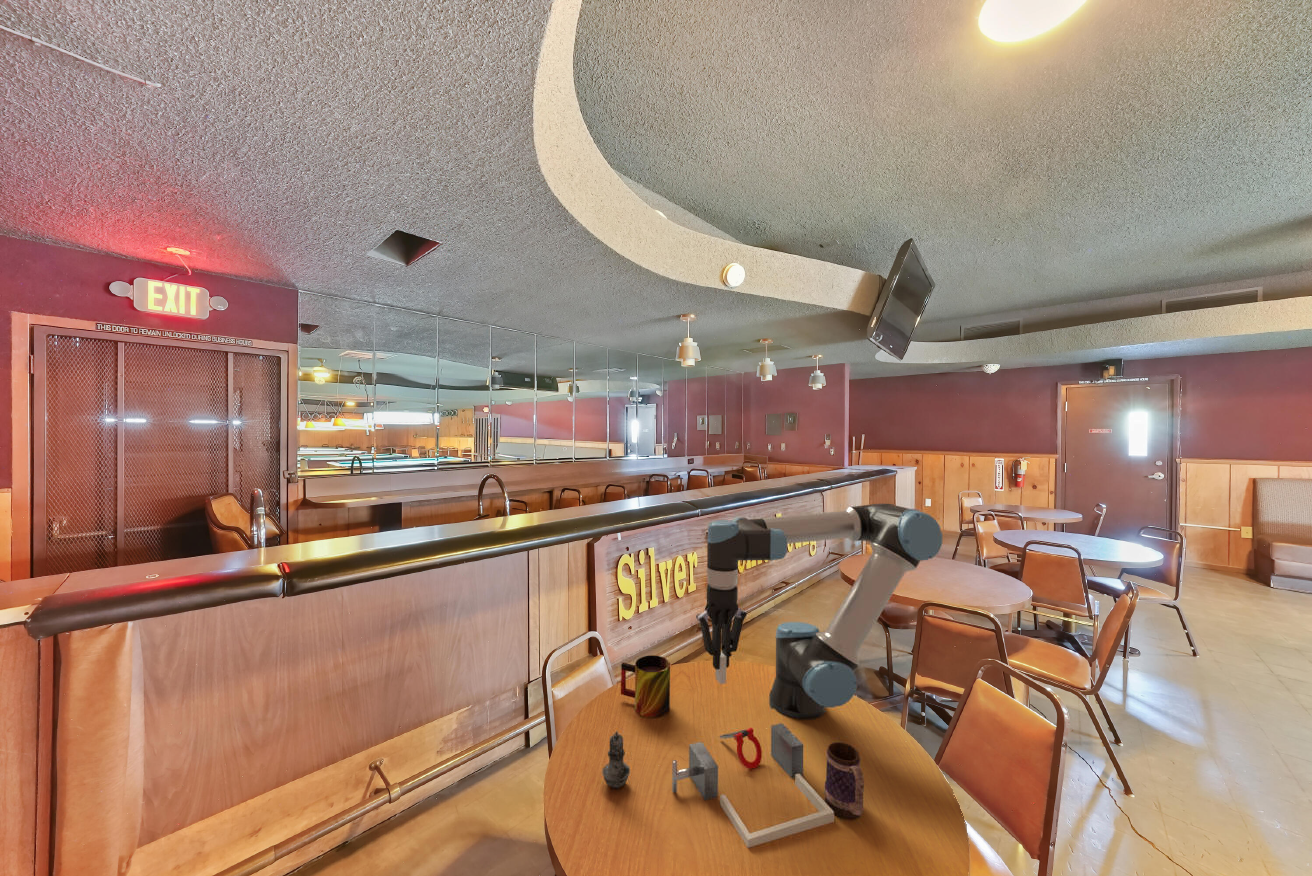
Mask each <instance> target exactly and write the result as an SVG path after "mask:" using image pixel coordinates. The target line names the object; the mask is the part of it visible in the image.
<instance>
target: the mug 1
mask: <svg viewBox="0 0 1312 876" xmlns="http://www.w3.org/2000/svg"><path fill="white" fill-rule="evenodd" d="M620 665H621V666H620V667H621V669H620V672H621V673H620V679H621V680H620V695H622V696H626V697H629V698H634V709H635V711H636V712H637V714H639V715H641V716H642V717H645V718H657V717H658V718H659V717H662V716H665V715H666V714H667V713H668V712H669V711H670V707H671V705H670V704H671V700H670V699H671V662H670V661H669V659H668V658H666V657H664V656H660V655H653V654H652V655H644V656H641V657H639V658H637V659H636V660H635V664H631V663H628V662H627V663H626V662H621V664H620ZM626 672H629V673H634V675H635V676H634V689H633V690H632V689H630V688H627V684H626V683H627V681H626V679H627V677H626V676H627V673H626Z"/></svg>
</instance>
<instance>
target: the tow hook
mask: <svg viewBox="0 0 1312 876" xmlns="http://www.w3.org/2000/svg"><path fill="white" fill-rule="evenodd" d="M746 737H747V739H748V741H750V742H751V743H752V744H753V746H754V747H755V758H754V760H753V761H749V760H747V759H746V757H745V756H744V753H743V745H744V742H745V741H744V739H745V738H746ZM733 738H734V740H735V741H736V754H737V758H738V759H739V762H740V763H741V765H742V766H743V767H744V768H747V769H750V770H752V769H756V768H757V767H759V766H760V764H761V762H762V758H763V757H762V756H763V754H762V753H763V752H762V746H761V743H760V741H759V740H758V738H757V737H756V735H754V728H753V727H749V728H747V729H742V730H739V731H734V732H729V733H723V734H722V735H719V739H733Z"/></svg>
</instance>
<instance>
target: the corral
mask: <svg viewBox="0 0 1312 876" xmlns="http://www.w3.org/2000/svg"><path fill="white" fill-rule="evenodd" d="M794 780H795V781H794V783H795V786H796V788H797V789H798V790H799V791H800V792H801V793H802V794H803V795H804V796H805V798H806V799H807V800H808V801H809V802H810V803H811V804H812V805H813V807H815V808H816V810H817V812H814V813H811V814H810V813H809V814H808V815H805V816H802V817H798V818H794V819H791V820H788V821H786V822H782V823H779V824H776V825H773V826H770V827H767V828H764V829H760V830H756V831H754V832H749V830H748V829H747V827H746V825H745V823H744V822H743V821H742V819H741V818H740V816H739V814H738V813H737V811H736V809H735V808H734V807H733V804H732V803H731V802H730V800H729V798H728V797H727V796H726V794H720V795H719V805H720V807H721V808H722V810H723V812H724V814H725V815H726V816H727V818H728V819H729V821H730V822H731V824H732V826H734V829H735V830H736V831H737V833H738V835H739V836H740V838H741V839H742V841H743V842H744V844H745V845H746V847H747V848H752V847H755V846H757V845H761V844H766V843H768V842H772V841H775V840H778V839H781V838H785V837H787V836H791V835H794V834H798V833H801V832H804V831H808V830H811V829H814V828H817V827H822V826H825V825H828V824H831V823H834V822H835V815H834V811H833V810H832V809H831V808H830V807H829V806H828V805H827V804H826V803H825V799H823V798H822V797H821V795H819V793H817V791H816V790H815V789H814V788H813V787H812V786H811V785H810V784H809V782H807V781H806V779H805V778H804V777H803V775H802V776H801V775H800V774H796V775H795V777H794Z"/></svg>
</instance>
